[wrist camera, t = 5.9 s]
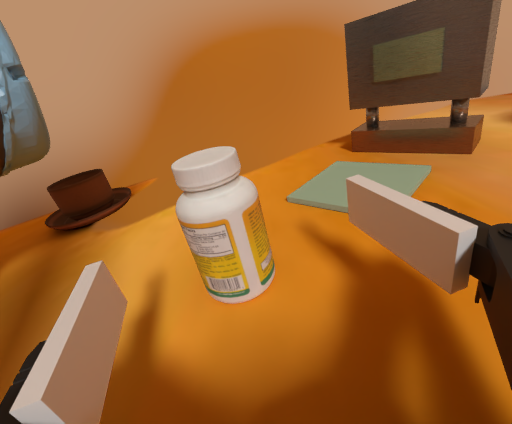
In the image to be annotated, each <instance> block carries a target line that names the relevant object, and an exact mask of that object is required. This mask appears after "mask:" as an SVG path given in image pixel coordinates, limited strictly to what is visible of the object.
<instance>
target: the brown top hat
mask: <svg viewBox="0 0 512 424" xmlns="http://www.w3.org/2000/svg"><path fill="white" fill-rule="evenodd" d="M47 190H48V192H49V193H50V195H51V197H52V198H53V200H54V201H55V203H56V204H57V206H58V207H59V210H57V211H56V212H54V213H53V214H52V215H50V216H49V217H48V218H47V219H46V221H45V224H46V225H47V226H48V227H49V228H53V229H57V230H66V229H73V228H78V227H82V226H85V225H88V224H91V223H94V222H96V221H99V220H101V219H103V218H105V217H107V216H109V215H111V214H112V213H114V212H116V211H117V210H119V209H120V208H121V207H123V206H124V205H125V204H126V203H127V202H128V200H129V198H130V196H131V190H130V189H129V188H124V187H123V188H114V189H111V187H110V185H109V183H108V181H107V179H106V177H105V175H104V173H103V170H102V169H94V170H90V171H86V172H82V173H79V174H76V175H73V176H70V177H67V178H65V179H62V180H60V181H58V182H56V183H53V184H52V185H50V186H48V187H47Z"/></svg>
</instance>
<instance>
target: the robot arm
mask: <svg viewBox="0 0 512 424" xmlns="http://www.w3.org/2000/svg"><path fill="white" fill-rule="evenodd" d="M49 148H50V137H49V133H48V129H47V126H46V123H45V120H44V117H43V114H42V112H41V108H40V106H39V103H38V101H37V98H36V95H35V93H34V91H33V88H32V86H31V84H30V82H29V80H28V78H27V77H26V76H25V71H24V69H23V67H22V65H21V62H20V59H19V56H18V54H17V52H16V50H15V48H14V46H13V43H12V41H11V39H10V37H9V36H8V34H7V32H6V30H5V28H4V26H3V24H2V22H1V21H0V177H1V176H4V175H7V174H8V173H10V171H12V170H15V169H18V168H21V167H23V166H26V165H29V164H31V163H34V162H37V161H39V160H41V159H42V158H43V157H44V156H45V155H46V154H47V153H48V151H49ZM346 187H347V200H348V212H349V221H350V222H351V223H352V224H354V225H355V226H357V227H358V228H359V229H361V230H362V231H364V232H365V233H366V234H368V235H369V236H371V237H372V238H373V239H375V240H376V241H377V242H379V243H380V244H382V245H383V246H384V247H386V248H387V249H389V250H390V251H391V252H393V253H394V254H395V255H397V256H398V257H400V258H401V259H402V260H404V261H405V262H407V263H408V264H409V265H411V266H412V267H414V268H415V269H416V270H418V271H419V272H420V273H422V274H423V275H425V276H426V277H427V278H429V279H430V280H432V281H433V282H434V283H436V284H437V285H438V286H440V287H441V288H443V289H444V290H445V291H447V292H448V293H450V294H453V293H455V292H457V291H459V290H462V289H464V288H466V287H467V286H468V281H469V275H472V276H473V277H475V278H477V279H478V280H479V281H478V286H477V291H476V296H475V303H479V299H480V298H481V299H482V302H483V305H484V308H485V311H486V314H487V317H488V320H489V323H490V326H491V329H492V332H493V335H494V338H495V341H496V344H497V347H498V350H499V353H500V356H501V359H502V362H503V365H504V368H505V372H506V375H507V378H508V381H509V384H510V387H511V390H512V224H510V223H504V224H496V225H493V226H490V225H488V224H486V223H483V222H481V221H478V220H476V219H473V218H471V217H469V216H466V215H464V214H461V213H457V212H456V211H454V210H452V209H448V208H447V207H444V206H442V205H439V204H437V203H432V202H427V201H419V200H416V199H414V198H412V197H409V196H407V195H405V194H403V193H400V192H398V191H396V190H393V189H391V188H389V187H386V186H384V185H382V184H379V183H377V182H375V181H372V180H370V179H368V178H365V177H363V176H361V175H355V176H352V177H349V178H346ZM126 306H127V300H126V298H125V297H124V295H123V293H122V292H121V290H120V289H119V287H118V285H117V284H116V282H115V280H114V279H113V277H112V275H111V274H110V272H109V270H108V269H107V267H106V266H105V264H104V262H103V261H99V262H96V263H93V264H90V265H87V266H85V268H84V270H83V272H82V274H81V276H80V278H79V280H78V282H77V283H76V285H75V287H74V289H73V291H72V293H71V295H70V297H69V299H68V301H67V303H66V304H65V306H64V308H63V310H62V312H61V314H60V316H59V318H58V320H57V322H56V324H55V325H54V327H53V329H52V331H51V333H50V335H49V337H48V339H47V340H45V341H43V342H40V343H39V344H38V345H37V346H36V348H35V349H34V350H33V351H32V352H31V353H30V354H29V355H28V356H27V358H26V360H25V362H24V363H23V365H22V367H21V369H20V370H19V371H20V373H18V374H17V376H16V378H15V379H14V381H13V385H12V386H10V388H9V390H8V392H7V393H6V395H5V397H4V399H3V400H2V402H1V404H0V424H99V423H100V419H101V414H102V410H103V406H104V401H105V397H106V393H107V388H108V384H109V380H110V375H111V371H112V367H113V362H114V358H115V354H116V349H117V345H118V341H119V336H120V332H121V328H122V323H123V319H124V314H125V310H126Z"/></svg>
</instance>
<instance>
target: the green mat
mask: <svg viewBox="0 0 512 424" xmlns="http://www.w3.org/2000/svg"><path fill="white" fill-rule="evenodd" d="M430 172H431V166H429V165H407V164H386V163H364V162H342V161H336V162H335V163H334V164H332V165H331V166H329V167H328V168H327V169H325V170H324V171H322V172H321V173H320V174H318V175H317V176H315V177H314V178H313V179H311V180H310V181H308V182H307V183H306V184H304V185H303V186H301V187H300V188H299V189H297V190H296V191H294V192H293V193H292V194H290V195H289V196H287V200H288V202H292V203H298V204H303V205H308V206H314V207H319V208H324V209H330V210H335V211H341V212H346V213H349V212H348V200H347V187H346V178H349V177H352V176H355V175H361V176H363V177H365V178H368V179H370V180H372V181H375V182H377V183H379V184H382V185H384V186H386V187H389V188H391V189H393V190H396V191H398V192H400V193H403V194H405V195H407V196H409V197H411V196H412V194H413V193H414V192H415V191H416V189H417V188H418V187H419V185H420V184H421V183H422V182H423V180H424V179H425V178H426V177H427V175H428V174H429V173H430Z"/></svg>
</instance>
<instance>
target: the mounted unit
mask: <svg viewBox="0 0 512 424" xmlns="http://www.w3.org/2000/svg"><path fill="white" fill-rule="evenodd" d="M500 7H501V0H416V1H413V2H410V3H407V4H404V5H401V6H398V7H395V8H392V9H389V10H386V11H383V12H380V13H377V14H374V15H371V16H368V17H365V18H362V19H359V20H356V21H353V22H350V23H347V24H345V39H346V57H347V71H348V88H349V102H350V110H352V109H361V108H366V121H367V122H366V123H364V124H362V125H361V126H359V127H358V128H356V129H354V130H353V131H351V134H352V150H353V152H399V153H455V154H472V152H473V151H474V149H475V147H476V146H477V144H478V143H479V141H480V138H481V131H482V125H483V118H484V115H471V116H467V115H468V107H469V99H470V98H476V97H480V96H481V95H482V94H483V93H484V92H485V90H486V89H487V88H488V85H489V78H490V72H491V66H492V59H493V52H494V46H495V39H496V33H497V27H498V20H499V13H500ZM445 100H452V105H451V115H450V117H438V118H422V119H405V120H389V121H379V109H378V108H379V107H383V106H393V105H403V104H414V103H424V102H434V101H445Z"/></svg>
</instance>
